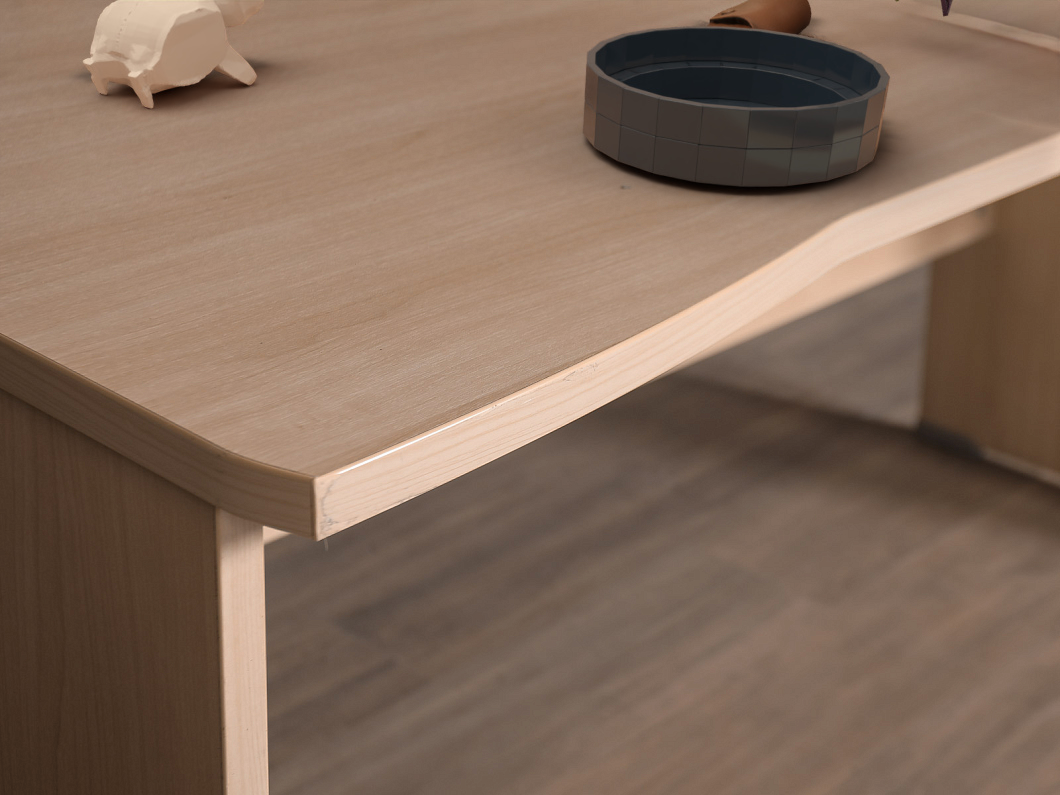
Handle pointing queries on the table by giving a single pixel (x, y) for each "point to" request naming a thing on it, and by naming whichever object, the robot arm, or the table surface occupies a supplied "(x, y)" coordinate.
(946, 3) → the pink bumpy toy
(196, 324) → the table surface
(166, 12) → the white animal figurine
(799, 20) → the sunglasses case
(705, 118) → the bowl
